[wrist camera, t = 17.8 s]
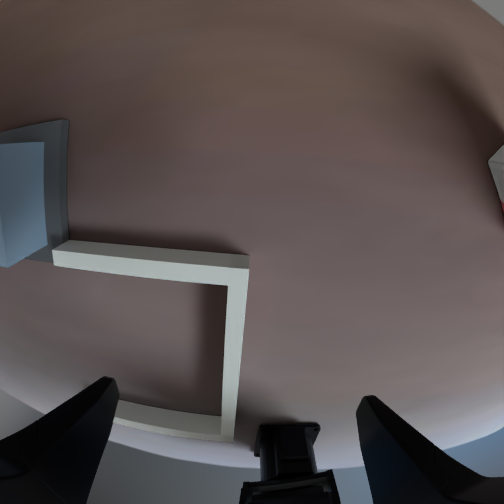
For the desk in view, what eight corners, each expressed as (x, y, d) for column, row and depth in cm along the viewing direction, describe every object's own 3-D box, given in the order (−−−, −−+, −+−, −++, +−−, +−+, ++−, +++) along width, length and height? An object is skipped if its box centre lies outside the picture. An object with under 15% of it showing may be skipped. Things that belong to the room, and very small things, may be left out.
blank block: (44, 141, 16) (-1, 144, 11) (47, 244, 18) (8, 267, 14) (9, 147, 16) (-34, 152, 11) (13, 240, 18) (-25, 260, 14)
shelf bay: (233, 423, 26) (233, 442, 23) (105, 402, 25) (97, 418, 23) (249, 255, 20) (249, 269, 18) (69, 239, 19) (52, 249, 17)
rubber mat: (71, 260, 20) (65, 264, 19) (10, 251, 20) (4, 255, 19) (69, 120, 16) (61, 119, 15) (5, 132, 16) (-2, 132, 15)
